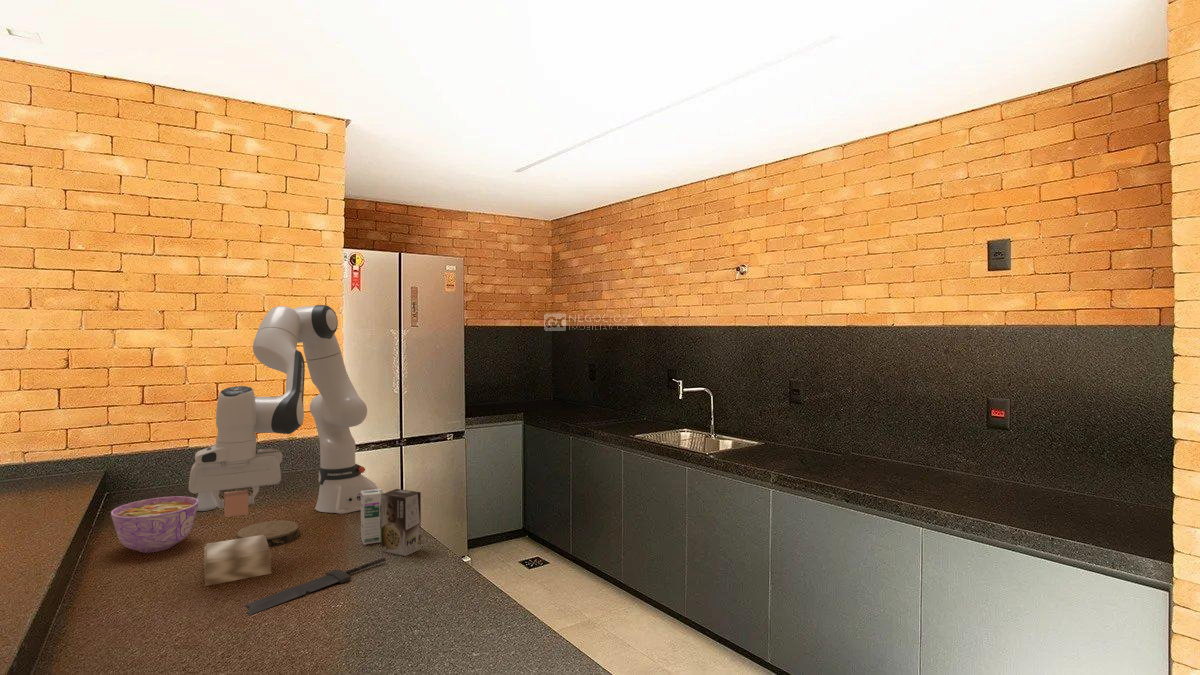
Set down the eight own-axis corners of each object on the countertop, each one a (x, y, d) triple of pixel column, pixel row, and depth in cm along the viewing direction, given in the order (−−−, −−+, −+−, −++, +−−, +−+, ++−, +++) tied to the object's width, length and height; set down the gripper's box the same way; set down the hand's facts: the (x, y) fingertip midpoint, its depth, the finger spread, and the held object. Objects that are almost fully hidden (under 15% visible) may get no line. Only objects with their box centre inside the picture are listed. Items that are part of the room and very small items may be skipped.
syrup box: (362, 545, 175) (362, 494, 175) (360, 539, 180) (360, 489, 180) (384, 542, 178) (384, 492, 177) (381, 536, 183) (381, 487, 183)
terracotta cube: (246, 509, 160) (246, 489, 160) (248, 514, 156) (248, 494, 156) (224, 511, 157) (224, 492, 157) (225, 517, 153) (225, 497, 153)
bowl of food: (208, 547, 173) (207, 506, 172) (118, 567, 158) (118, 522, 158) (188, 530, 186) (188, 492, 186) (104, 547, 172) (104, 506, 171)
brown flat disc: (301, 542, 178) (301, 532, 178) (237, 553, 169) (237, 542, 169) (295, 526, 191) (295, 517, 191) (236, 535, 183) (236, 525, 183)
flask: (205, 512, 204) (205, 482, 204) (187, 511, 205) (187, 481, 205) (223, 506, 211) (223, 477, 211) (205, 505, 212) (205, 476, 212)
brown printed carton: (421, 549, 173) (422, 491, 172) (405, 556, 167) (405, 497, 167) (396, 544, 177) (396, 487, 176) (380, 551, 171) (380, 493, 170)
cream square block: (265, 555, 167) (265, 533, 167) (271, 573, 155) (271, 549, 155) (204, 566, 159) (204, 543, 159) (204, 586, 147) (204, 561, 147)
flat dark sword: (236, 611, 137) (235, 602, 137) (376, 559, 165) (376, 552, 165) (250, 620, 133) (250, 611, 133) (392, 565, 160) (392, 558, 160)
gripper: (280, 445, 165) (280, 496, 165) (188, 453, 154) (188, 508, 154) (283, 449, 159) (283, 502, 160) (188, 457, 148) (188, 514, 148)
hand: (236, 505), depth 157 cm, fingers closed on terracotta cube, 5 cm apart
